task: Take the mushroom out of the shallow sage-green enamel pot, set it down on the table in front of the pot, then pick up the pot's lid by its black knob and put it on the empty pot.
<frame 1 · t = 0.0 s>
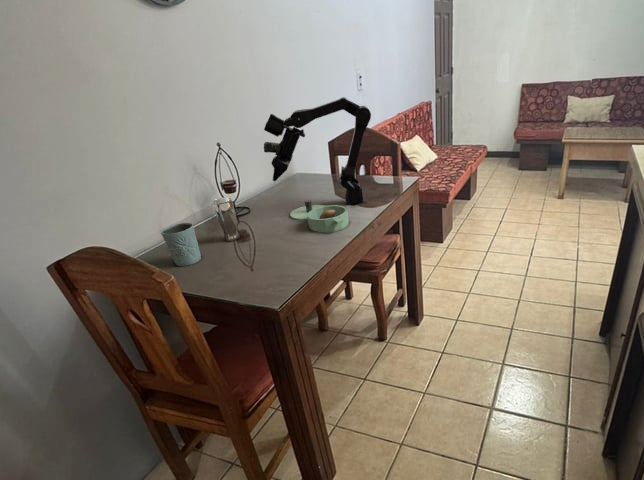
hand: (275, 177, 173), 15 cm above the table, tool tilted 35°, fingers open, 9 cm apart
pot: (329, 225, 162), on the table
embossed blue planter: (188, 260, 146), on the table
mushroom: (329, 225, 162), resting on pot
beer glass: (233, 238, 159), on the table
lid: (309, 212, 175), point 1 cm above the table
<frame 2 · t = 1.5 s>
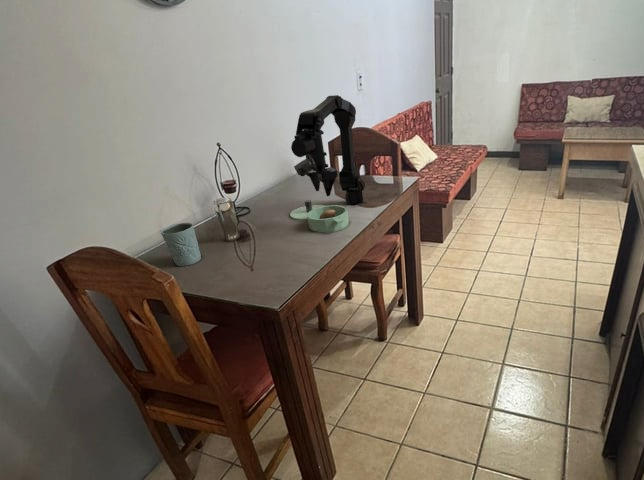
hand: (322, 193, 156), 13 cm above the table, tool pointing down, fingers open, 9 cm apart
nothing on the table moved.
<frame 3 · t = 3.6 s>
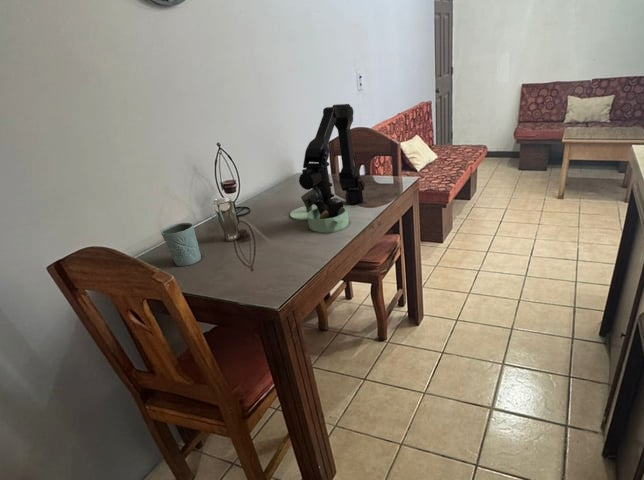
hand: (328, 221, 161), 2 cm above the table, tool pointing down, fingers closed on mushroom, 8 cm apart
mushroom: (329, 225, 162), resting on pot, touching gripper
everything else where it was.
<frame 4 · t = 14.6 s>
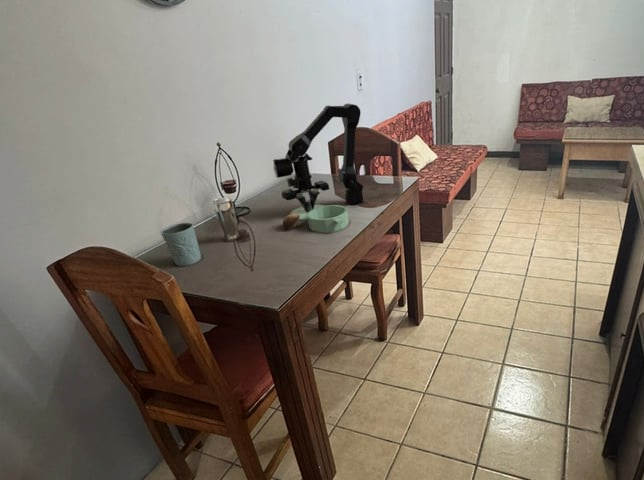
hand: (309, 210, 174), 2 cm above the table, tool pointing down, fingers closed on lid, 2 cm apart
mushroom: (292, 228, 163), on the table
lid: (309, 212, 175), point 1 cm above the table, touching gripper
everything else where it was.
when the fingers open (8 cm above the table, at t = 18.7 s): lid drops 1 cm, resting on pot.
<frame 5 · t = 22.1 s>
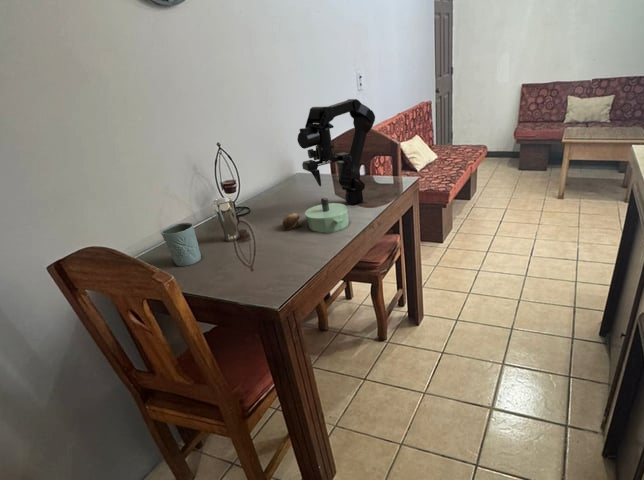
hand: (330, 183, 166), 13 cm above the table, tool pointing down, fingers open, 9 cm apart
lid: (326, 211, 160), point 5 cm above the table, touching pot
everything else where it was.
at the end: mushroom inside the target area (0.1 cm from its centre), on the table; lid 0.5 cm off-centre on the pot, point 5.2 cm above the pot's base; lid tilted 0° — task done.
